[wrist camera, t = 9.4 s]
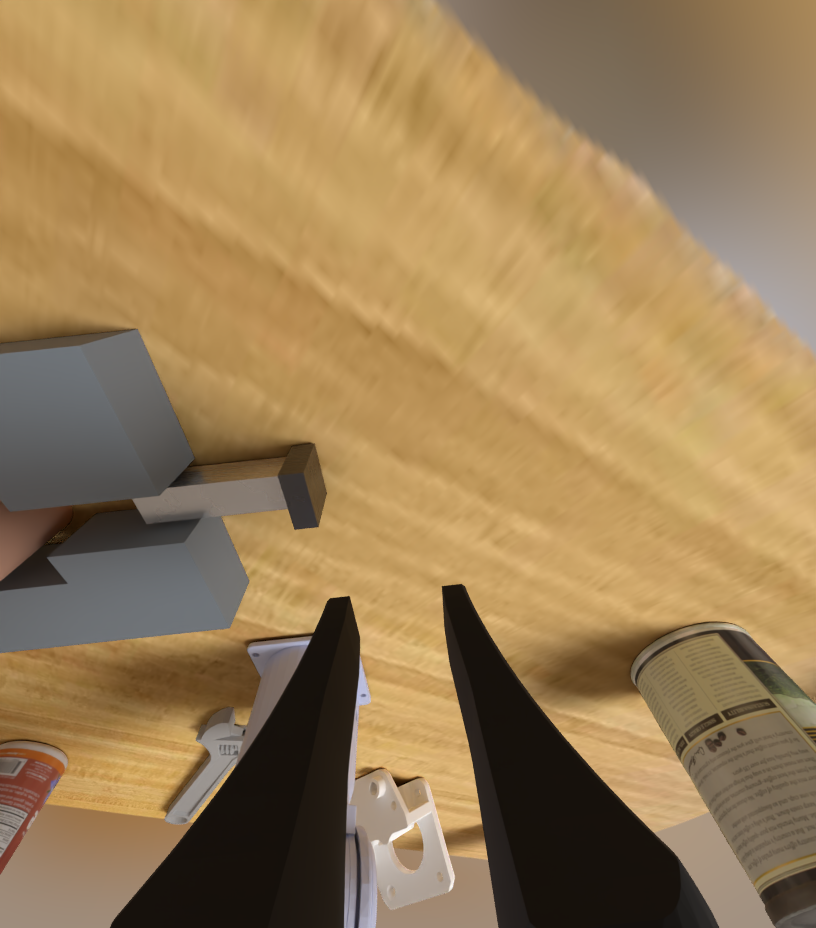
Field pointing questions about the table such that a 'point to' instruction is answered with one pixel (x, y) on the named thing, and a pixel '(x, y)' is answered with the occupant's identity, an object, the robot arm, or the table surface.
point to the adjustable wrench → (209, 764)
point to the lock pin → (244, 490)
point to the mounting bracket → (389, 818)
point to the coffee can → (743, 754)
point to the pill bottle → (25, 788)
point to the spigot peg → (28, 533)
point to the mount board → (103, 500)
